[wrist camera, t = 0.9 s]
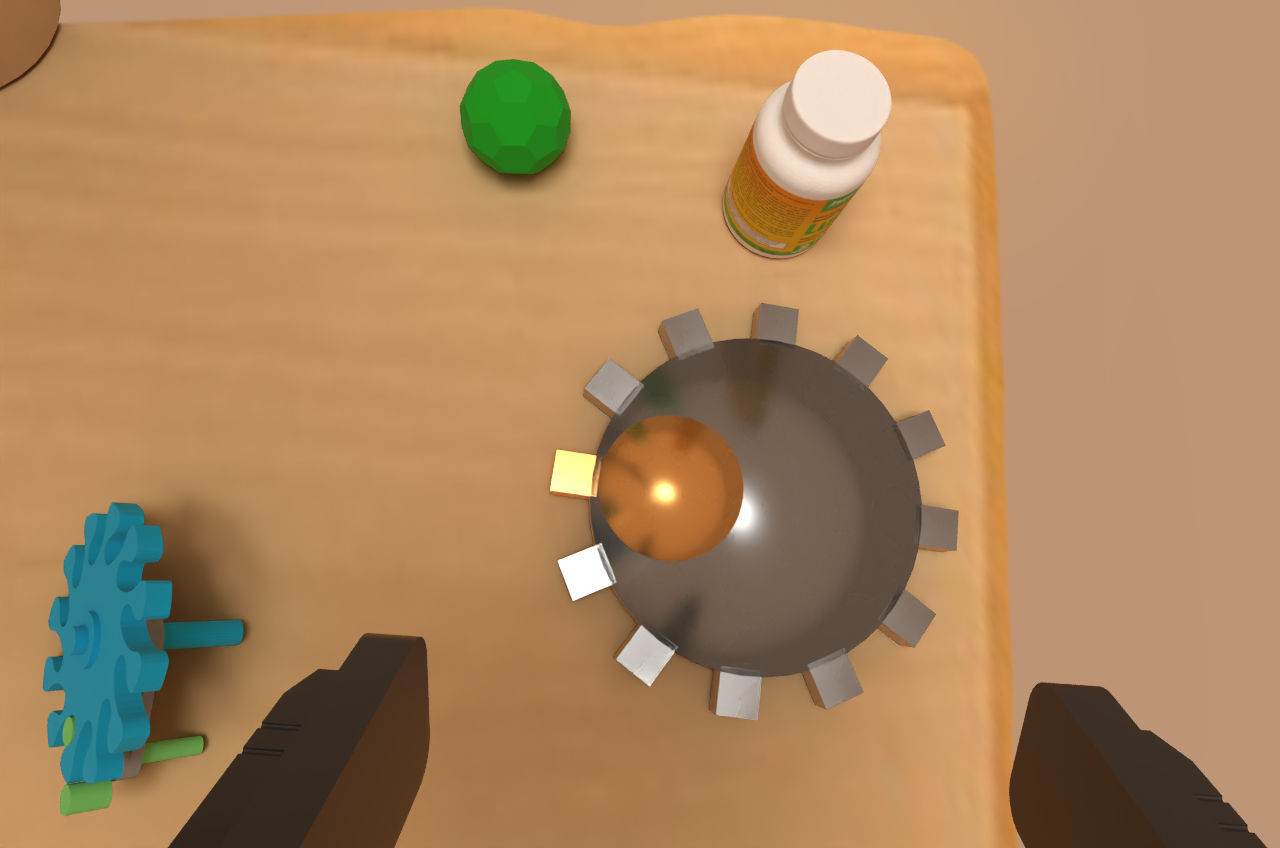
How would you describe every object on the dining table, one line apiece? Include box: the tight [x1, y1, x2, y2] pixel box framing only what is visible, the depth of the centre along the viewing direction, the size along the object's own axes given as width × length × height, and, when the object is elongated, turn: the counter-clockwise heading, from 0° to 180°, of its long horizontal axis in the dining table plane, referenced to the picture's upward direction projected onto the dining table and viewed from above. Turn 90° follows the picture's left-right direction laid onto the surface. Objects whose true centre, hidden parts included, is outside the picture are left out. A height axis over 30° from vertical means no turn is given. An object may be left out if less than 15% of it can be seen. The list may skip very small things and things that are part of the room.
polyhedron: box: [460, 59, 571, 174], centre depth 37 cm, size 5×5×5 cm
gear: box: [43, 502, 243, 816], centre depth 31 cm, size 11×6×10 cm
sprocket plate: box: [550, 303, 958, 720], centre depth 36 cm, size 18×18×2 cm
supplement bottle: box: [723, 50, 891, 258], centre depth 35 cm, size 5×5×10 cm
